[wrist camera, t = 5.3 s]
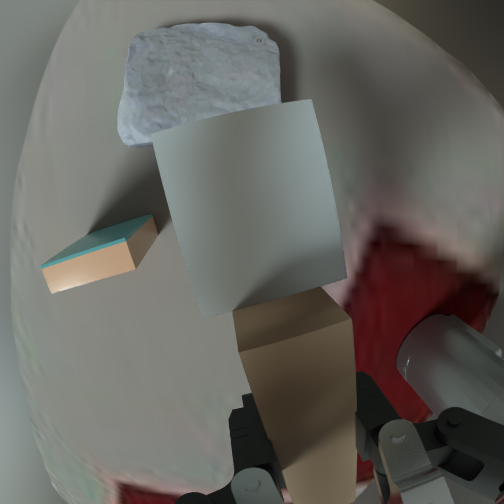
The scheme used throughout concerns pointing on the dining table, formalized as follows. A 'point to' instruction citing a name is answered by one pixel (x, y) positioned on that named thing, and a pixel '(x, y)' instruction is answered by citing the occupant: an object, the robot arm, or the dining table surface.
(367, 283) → the dining table surface
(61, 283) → the tile
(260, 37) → the stone block
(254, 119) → the spatula
